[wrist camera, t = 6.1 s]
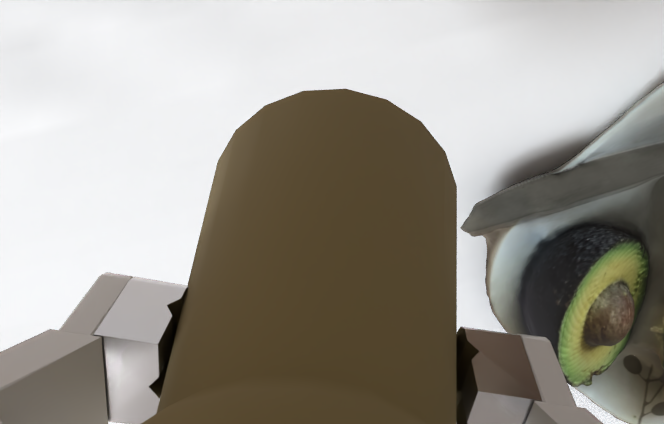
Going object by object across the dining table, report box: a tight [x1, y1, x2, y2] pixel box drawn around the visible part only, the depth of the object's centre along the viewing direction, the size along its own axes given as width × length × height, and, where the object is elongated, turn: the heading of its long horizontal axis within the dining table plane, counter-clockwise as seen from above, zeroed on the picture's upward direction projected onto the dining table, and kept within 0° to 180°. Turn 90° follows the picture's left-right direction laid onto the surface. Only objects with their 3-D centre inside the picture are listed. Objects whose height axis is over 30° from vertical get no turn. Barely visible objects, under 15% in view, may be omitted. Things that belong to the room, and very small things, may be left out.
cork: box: [141, 89, 457, 424], centre depth 9 cm, size 6×6×11 cm
